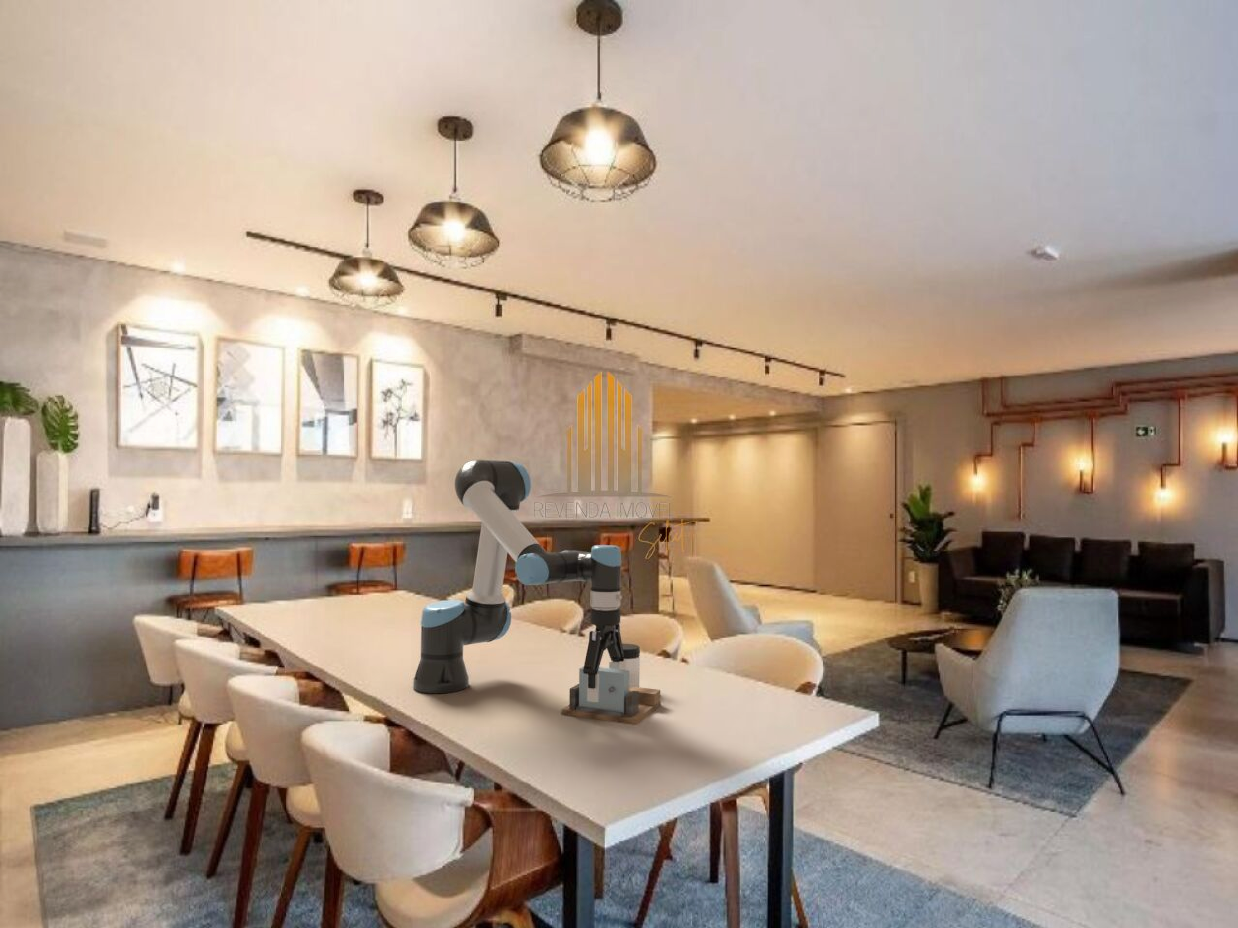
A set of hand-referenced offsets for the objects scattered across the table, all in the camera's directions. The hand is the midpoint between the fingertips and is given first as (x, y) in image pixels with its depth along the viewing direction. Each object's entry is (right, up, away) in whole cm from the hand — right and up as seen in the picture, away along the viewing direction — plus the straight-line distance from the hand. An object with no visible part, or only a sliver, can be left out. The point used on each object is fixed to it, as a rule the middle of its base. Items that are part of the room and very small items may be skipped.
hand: (604, 694), depth 178 cm
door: (0, -4, 0) cm, 4 cm away
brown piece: (+2, -5, +5) cm, 7 cm away
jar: (+5, -7, +24) cm, 25 cm away
